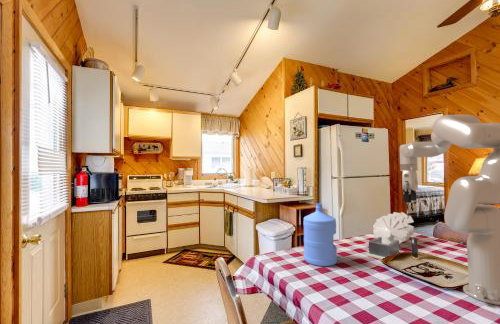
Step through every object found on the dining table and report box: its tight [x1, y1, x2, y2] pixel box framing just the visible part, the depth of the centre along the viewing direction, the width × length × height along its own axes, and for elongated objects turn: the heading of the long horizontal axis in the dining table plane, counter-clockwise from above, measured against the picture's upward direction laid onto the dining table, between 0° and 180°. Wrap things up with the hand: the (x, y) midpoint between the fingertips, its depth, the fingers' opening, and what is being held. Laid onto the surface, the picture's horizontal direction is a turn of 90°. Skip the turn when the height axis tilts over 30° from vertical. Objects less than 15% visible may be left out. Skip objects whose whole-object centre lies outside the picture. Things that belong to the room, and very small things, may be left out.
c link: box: [368, 237, 400, 257], centre depth 126 cm, size 14×10×6 cm
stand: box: [410, 236, 421, 259], centre depth 120 cm, size 4×4×10 cm
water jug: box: [303, 202, 338, 267], centre depth 118 cm, size 16×16×28 cm
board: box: [366, 251, 401, 260], centre depth 125 cm, size 16×11×1 cm
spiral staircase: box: [372, 211, 415, 245], centre depth 144 cm, size 18×18×25 cm
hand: (410, 201), depth 122 cm, fingers open, 9 cm apart
